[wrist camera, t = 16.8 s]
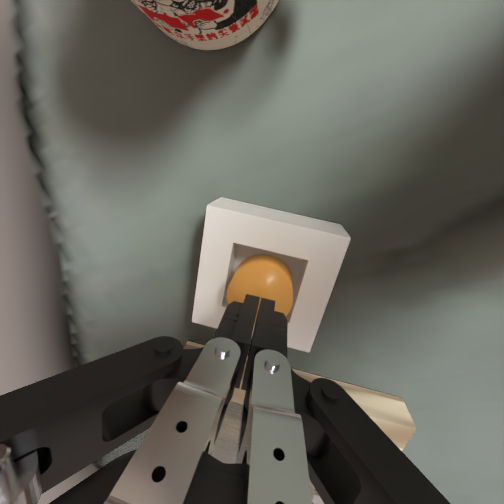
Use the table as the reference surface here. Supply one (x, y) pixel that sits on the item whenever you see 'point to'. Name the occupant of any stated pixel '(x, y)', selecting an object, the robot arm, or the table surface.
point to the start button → (263, 282)
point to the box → (274, 244)
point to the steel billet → (229, 435)
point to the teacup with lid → (207, 20)
